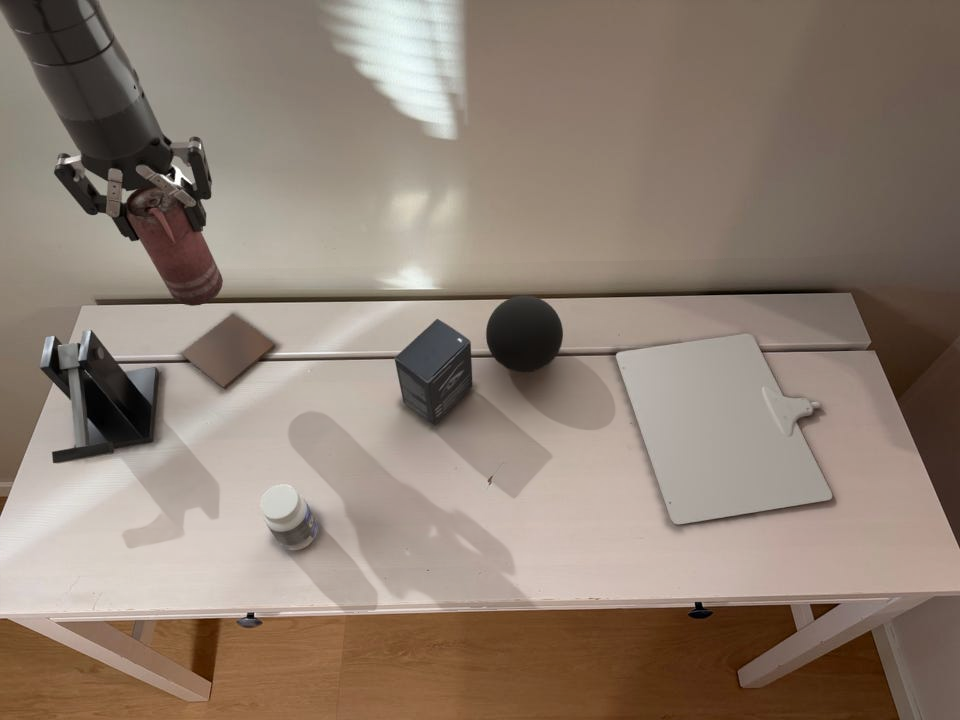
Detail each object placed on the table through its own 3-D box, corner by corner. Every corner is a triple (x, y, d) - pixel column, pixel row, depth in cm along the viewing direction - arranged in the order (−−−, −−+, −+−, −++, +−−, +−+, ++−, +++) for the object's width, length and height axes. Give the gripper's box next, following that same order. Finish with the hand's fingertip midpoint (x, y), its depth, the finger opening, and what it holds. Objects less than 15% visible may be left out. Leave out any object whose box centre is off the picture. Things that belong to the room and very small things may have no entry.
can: (188, 317, 78) (138, 228, 67) (164, 287, 81) (112, 197, 69) (234, 291, 80) (193, 201, 69) (209, 263, 83) (166, 172, 72)
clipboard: (864, 496, 78) (868, 491, 77) (671, 527, 77) (674, 523, 76) (777, 331, 93) (780, 326, 92) (613, 355, 91) (614, 350, 90)
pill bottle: (325, 536, 76) (309, 506, 69) (287, 559, 74) (267, 531, 68) (307, 504, 78) (290, 472, 71) (270, 525, 77) (249, 495, 70)
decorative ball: (493, 322, 94) (494, 274, 86) (563, 333, 93) (571, 285, 85) (479, 380, 88) (478, 334, 80) (553, 392, 87) (560, 347, 79)
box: (442, 365, 90) (438, 315, 81) (474, 388, 88) (473, 338, 79) (401, 404, 86) (392, 355, 77) (433, 428, 84) (427, 381, 75)
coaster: (224, 389, 88) (223, 387, 87) (182, 356, 91) (180, 353, 90) (276, 346, 92) (275, 344, 91) (233, 315, 95) (232, 313, 95)
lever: (116, 453, 76) (106, 452, 73) (61, 463, 75) (49, 463, 73) (104, 343, 78) (95, 339, 75) (51, 352, 77) (39, 348, 75)
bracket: (153, 442, 83) (102, 380, 72) (78, 455, 82) (14, 395, 71) (159, 371, 89) (112, 305, 78) (89, 383, 88) (32, 317, 77)
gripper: (1, 127, 56) (95, 265, 70) (176, 106, 58) (235, 245, 71) (18, 79, 61) (104, 218, 74) (181, 60, 62) (235, 199, 76)
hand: (168, 230), depth 73 cm, fingers closed on can, 6 cm apart
